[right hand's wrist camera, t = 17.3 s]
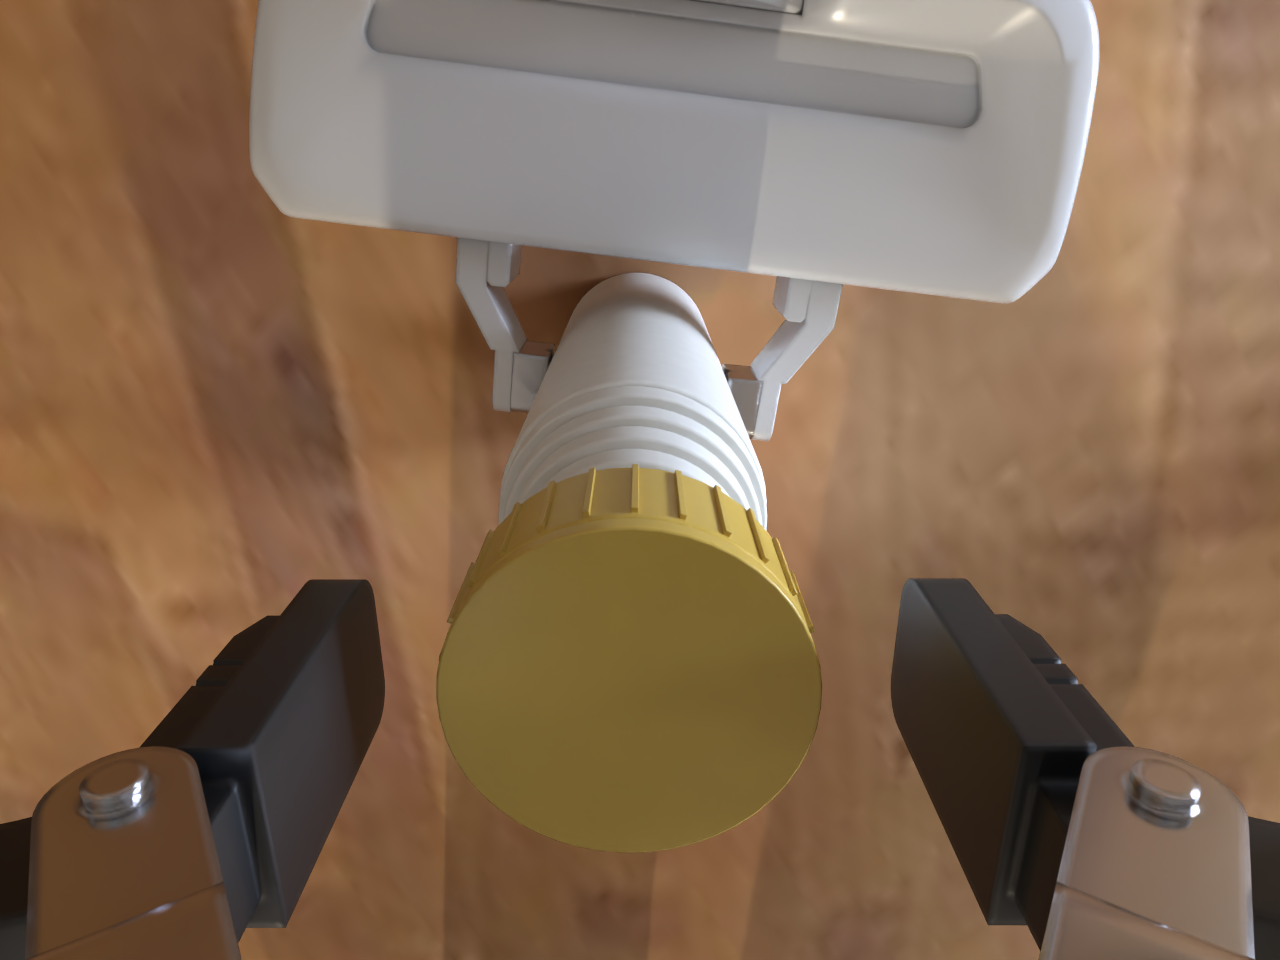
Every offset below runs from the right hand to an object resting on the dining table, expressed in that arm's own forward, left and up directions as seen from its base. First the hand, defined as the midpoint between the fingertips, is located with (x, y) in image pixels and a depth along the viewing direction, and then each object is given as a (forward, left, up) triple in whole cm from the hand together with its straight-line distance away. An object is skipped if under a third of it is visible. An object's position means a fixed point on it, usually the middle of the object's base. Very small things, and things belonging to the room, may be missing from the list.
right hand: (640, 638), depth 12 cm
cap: (0, 0, +1) cm, 1 cm away
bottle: (0, 0, -20) cm, 20 cm away
